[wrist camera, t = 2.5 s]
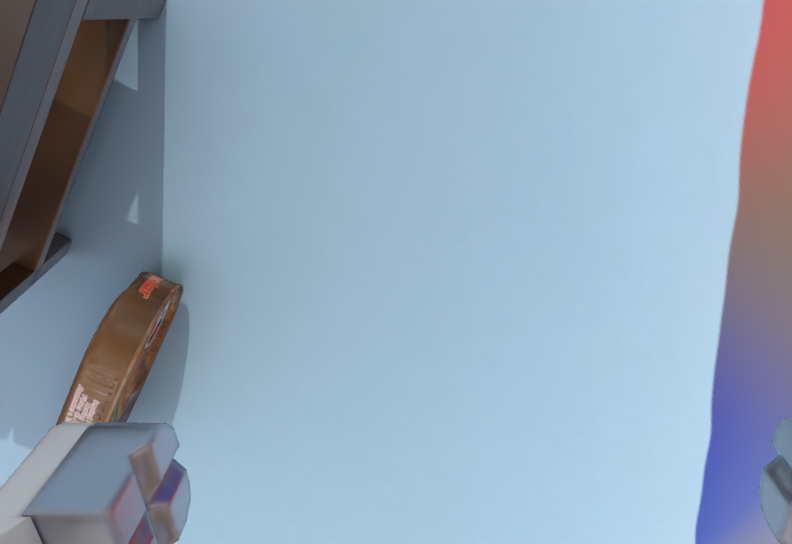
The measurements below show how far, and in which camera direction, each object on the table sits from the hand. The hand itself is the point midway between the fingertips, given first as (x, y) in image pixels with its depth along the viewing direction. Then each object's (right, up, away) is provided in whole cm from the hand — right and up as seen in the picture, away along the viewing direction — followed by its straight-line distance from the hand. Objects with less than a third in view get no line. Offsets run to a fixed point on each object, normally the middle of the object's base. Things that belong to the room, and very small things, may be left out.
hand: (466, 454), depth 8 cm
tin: (-19, -3, +32) cm, 37 cm away
